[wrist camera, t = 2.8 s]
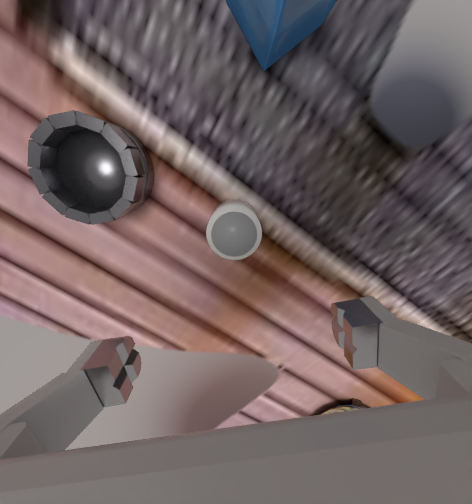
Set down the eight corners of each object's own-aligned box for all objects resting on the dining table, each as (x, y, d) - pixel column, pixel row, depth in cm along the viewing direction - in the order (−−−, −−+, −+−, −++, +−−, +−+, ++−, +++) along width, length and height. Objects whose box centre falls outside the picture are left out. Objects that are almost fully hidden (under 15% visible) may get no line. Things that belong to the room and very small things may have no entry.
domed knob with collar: (138, 114, 23) (114, 101, 19) (164, 205, 27) (149, 213, 22) (51, 132, 24) (7, 124, 19) (87, 219, 27) (56, 231, 22)
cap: (253, 195, 26) (257, 201, 21) (260, 240, 28) (265, 256, 23) (206, 203, 27) (200, 212, 22) (216, 247, 29) (212, 265, 24)
